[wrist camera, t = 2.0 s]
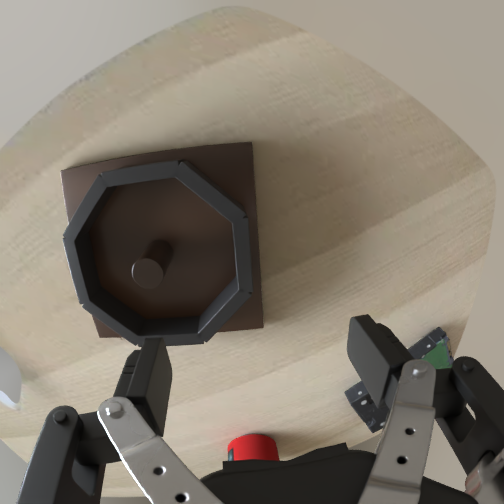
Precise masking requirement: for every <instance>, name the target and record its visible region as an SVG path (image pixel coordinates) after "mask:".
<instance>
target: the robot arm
mask: <svg viewBox="0 0 504 504" xmlns="http://www.w3.org/2000/svg"><path fill="white" fill-rule="evenodd" d="M347 352H348V357H349V359H350V361H351V362H352V364H353V366H354V368H355V369H356V371H357V373H358V375H359V376H360V378H361V380H362V382H363V383H364V385H365V387H366V389H367V390H368V392H369V394H370V396H371V398H372V399H373V401H374V403H375V405H376V407H377V408H378V409H379V408H382V407H385V406H388V408H389V412H388V415H387V418H386V421H385V424H384V427H383V430H382V433H381V436H380V439H379V442H378V444H377V447H376V450H375V452H374V453H371V452H367V451H361V450H348V447H347V445H346V442H345V443H341V444H337V445H333V446H328V447H324V448H319V449H316V450H313V451H311V452H309V453H306V454H304V455H301V456H299V457H296V458H294V459H291V460H288V461H275V460H261V459H247V460H235V461H223V469H222V470H219V471H216V472H213V473H211V474H209V475H207V476H204V477H203V478H201V479H200V480H199V479H198V478H197V477H196V476H195V475H194V474H193V473H192V472H191V471H190V470H189V469H188V468H187V466H186V465H185V464H184V463H183V462H182V461H181V460H180V459H179V458H178V456H177V455H176V454H175V453H174V452H173V451H172V449H171V448H170V447H169V446H168V445H167V444H166V442H165V441H164V440H163V439H162V438H161V437H163V434H164V427H165V420H166V414H167V407H168V401H169V395H170V389H171V383H172V367H171V363H170V360H169V356H168V352H167V349H166V345H165V341H164V339H163V338H145V340H144V343H143V345H142V348H141V350H134V351H133V352H132V353H131V354H130V355H129V356H128V358H127V360H126V363H125V365H124V366H125V367H124V368H123V371H122V374H121V376H120V379H119V381H118V384H117V387H116V390H115V393H114V395H113V397H112V398H109V399H107V400H105V401H104V402H103V403H102V404H101V405H100V406H99V408H98V411H96V412H91V413H85V414H79V415H78V413H77V411H76V410H75V409H74V408H73V407H70V406H59V407H56V408H54V409H53V410H52V411H51V412H50V413H49V414H48V415H47V418H46V420H45V422H44V425H43V427H42V430H41V432H40V435H39V437H38V440H37V442H36V445H35V448H34V450H33V453H32V456H31V459H30V461H29V464H28V467H27V470H26V473H25V476H24V480H23V482H22V486H21V489H20V492H19V496H18V499H17V503H16V504H100V498H101V491H102V485H103V479H104V473H105V467H106V463H113V462H118V461H123V462H124V464H125V465H126V467H127V468H128V470H129V472H130V473H131V475H132V476H133V478H134V479H135V480H136V482H137V483H138V485H139V486H140V488H141V489H142V490H143V492H144V493H145V495H146V496H147V497H148V499H149V500H150V501H151V503H152V504H504V390H503V389H502V388H501V387H500V385H499V384H498V383H497V382H496V381H495V380H494V378H493V377H492V376H491V375H490V374H489V373H488V372H487V370H486V369H485V368H484V367H483V366H482V365H481V364H480V363H479V362H478V361H477V360H476V359H474V358H471V357H466V356H465V357H464V356H463V357H459V358H457V359H456V360H455V361H454V362H453V365H452V367H451V368H443V369H435V368H434V366H433V365H432V364H431V363H429V362H427V361H425V360H420V359H414V357H413V356H412V355H411V354H410V353H409V351H408V350H407V349H406V348H405V347H404V345H403V344H402V343H401V342H399V339H398V338H397V337H396V336H395V335H394V334H393V332H392V331H391V330H390V329H389V328H388V327H386V326H384V325H382V324H381V323H377V324H376V323H375V322H374V320H373V319H372V318H371V317H370V316H369V315H368V314H366V315H361V316H355V317H351V319H350V325H349V334H348V342H347ZM467 403H468V405H469V406H470V407H471V409H472V410H473V411H474V413H475V417H476V420H475V419H474V418H473V416H472V415H471V413H470V412H469V411H468V409H467V408H466V404H467ZM434 419H436V421H437V423H438V425H439V426H440V428H441V430H442V431H443V433H444V435H445V437H446V438H447V440H448V442H449V444H450V445H451V447H452V449H453V451H454V452H455V454H456V456H457V457H458V459H459V461H460V463H461V465H462V467H463V469H464V470H465V472H466V474H467V478H466V481H465V487H466V490H465V492H462V491H459V490H456V489H454V488H451V487H449V486H446V485H444V484H441V483H439V482H436V481H434V480H431V479H429V478H426V477H424V476H423V473H424V469H425V464H426V460H427V456H428V451H429V446H430V441H431V436H432V430H433V424H434Z"/></svg>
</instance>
